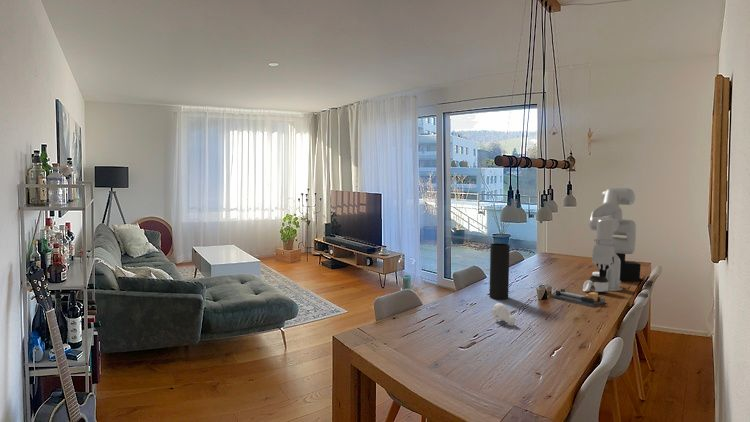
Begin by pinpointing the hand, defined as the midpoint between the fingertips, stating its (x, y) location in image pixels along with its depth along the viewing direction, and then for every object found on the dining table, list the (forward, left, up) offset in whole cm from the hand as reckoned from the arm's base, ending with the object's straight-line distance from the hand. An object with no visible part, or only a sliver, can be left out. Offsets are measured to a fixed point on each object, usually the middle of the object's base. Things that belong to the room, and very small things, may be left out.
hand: (602, 276), depth 239 cm
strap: (0, -17, -14) cm, 21 cm away
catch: (0, -6, -14) cm, 15 cm away
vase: (+30, -43, -16) cm, 55 cm away
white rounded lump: (+65, -14, -16) cm, 68 cm away
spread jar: (-24, -15, -16) cm, 33 cm away
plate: (0, -13, -15) cm, 20 cm away
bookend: (-72, -21, -16) cm, 76 cm away
